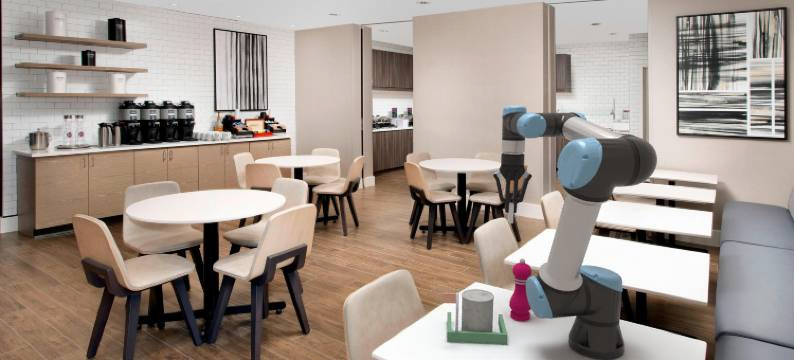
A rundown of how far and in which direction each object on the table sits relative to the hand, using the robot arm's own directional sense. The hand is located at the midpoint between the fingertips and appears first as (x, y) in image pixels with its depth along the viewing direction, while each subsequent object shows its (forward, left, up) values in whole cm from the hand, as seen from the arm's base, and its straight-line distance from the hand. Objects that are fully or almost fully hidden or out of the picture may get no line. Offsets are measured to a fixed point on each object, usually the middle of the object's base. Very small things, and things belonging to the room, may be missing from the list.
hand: (510, 222), depth 173 cm
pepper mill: (-3, +10, -30) cm, 31 cm away
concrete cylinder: (+12, +23, -30) cm, 39 cm away
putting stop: (+13, +22, -29) cm, 39 cm away
